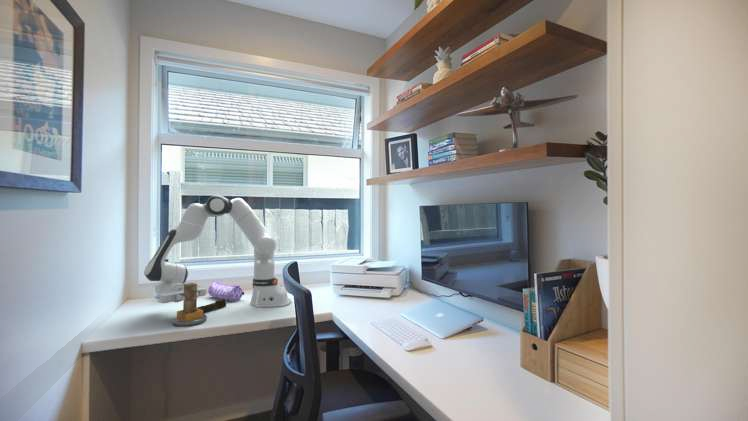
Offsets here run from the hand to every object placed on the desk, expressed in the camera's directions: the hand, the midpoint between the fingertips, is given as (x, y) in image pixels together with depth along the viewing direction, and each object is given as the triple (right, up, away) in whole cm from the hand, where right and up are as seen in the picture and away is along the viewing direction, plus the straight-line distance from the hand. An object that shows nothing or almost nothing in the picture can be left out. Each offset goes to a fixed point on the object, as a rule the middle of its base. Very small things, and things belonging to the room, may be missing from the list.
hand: (191, 297), depth 151 cm
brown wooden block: (-1, -8, 0) cm, 8 cm away
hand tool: (-1, -12, +18) cm, 22 cm away
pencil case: (-3, -12, +41) cm, 43 cm away
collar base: (-1, -11, 0) cm, 12 cm away
